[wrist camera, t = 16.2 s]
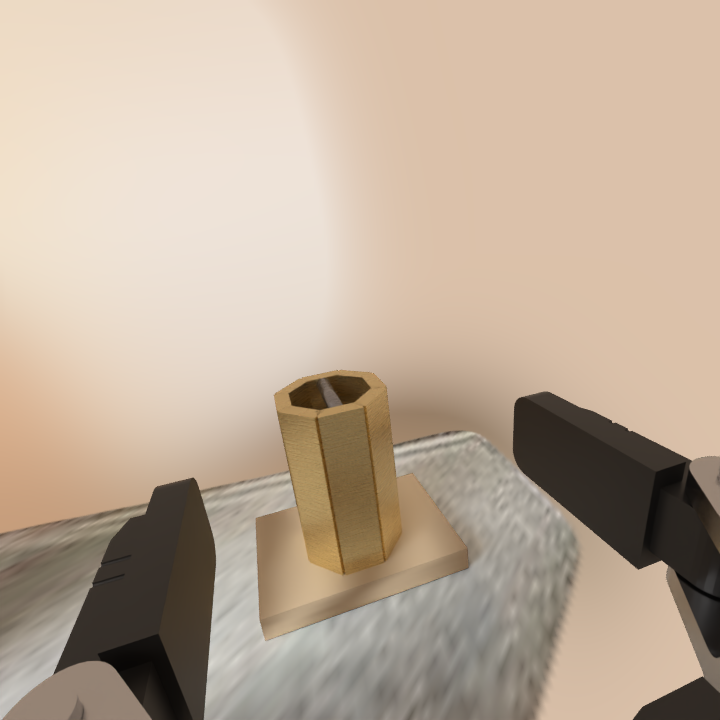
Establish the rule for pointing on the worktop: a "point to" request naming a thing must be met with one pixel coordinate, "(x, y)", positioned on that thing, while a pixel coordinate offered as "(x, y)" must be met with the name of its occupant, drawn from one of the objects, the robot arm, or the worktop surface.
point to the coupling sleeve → (342, 468)
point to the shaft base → (343, 593)
